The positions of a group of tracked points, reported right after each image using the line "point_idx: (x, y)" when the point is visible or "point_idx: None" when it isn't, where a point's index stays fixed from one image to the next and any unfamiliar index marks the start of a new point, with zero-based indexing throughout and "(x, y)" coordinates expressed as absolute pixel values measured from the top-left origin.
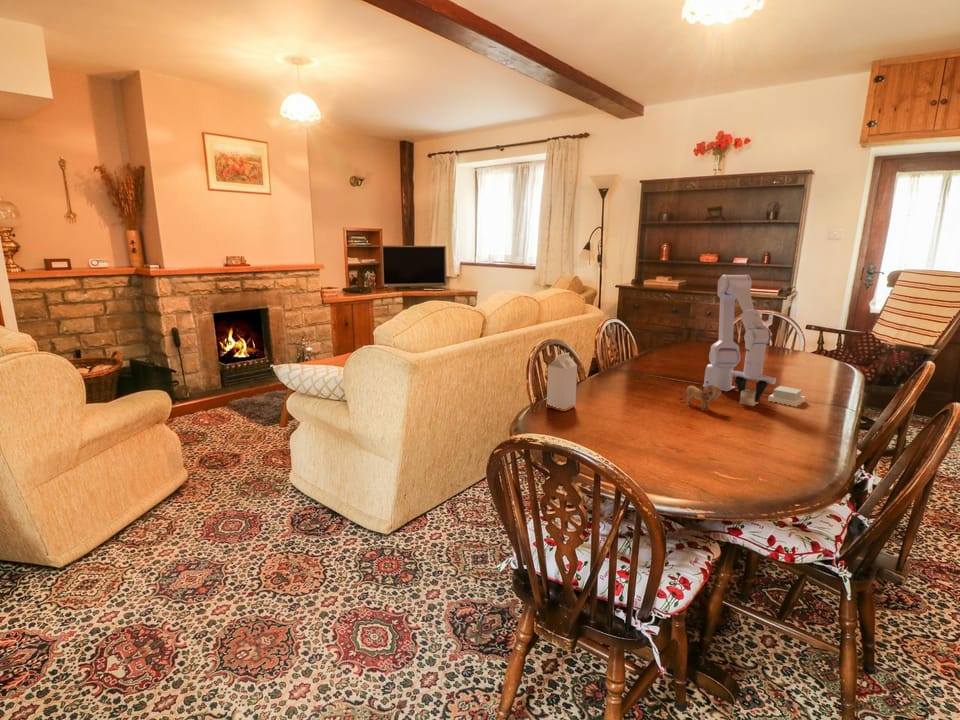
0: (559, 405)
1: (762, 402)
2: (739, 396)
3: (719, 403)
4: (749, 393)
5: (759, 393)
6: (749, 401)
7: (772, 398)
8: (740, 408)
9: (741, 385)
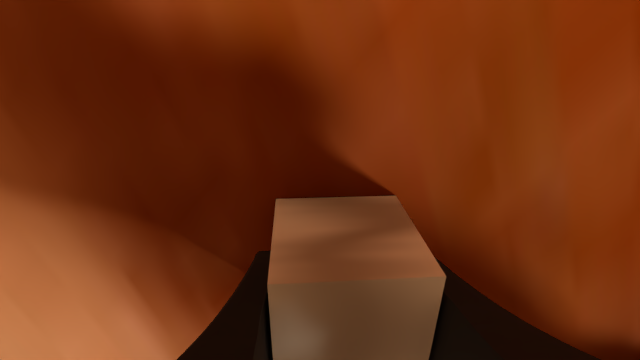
0: None
1: None
2: None
3: (556, 42)
4: (334, 276)
5: (215, 318)
6: (314, 218)
7: None
8: (335, 31)
9: (495, 353)
